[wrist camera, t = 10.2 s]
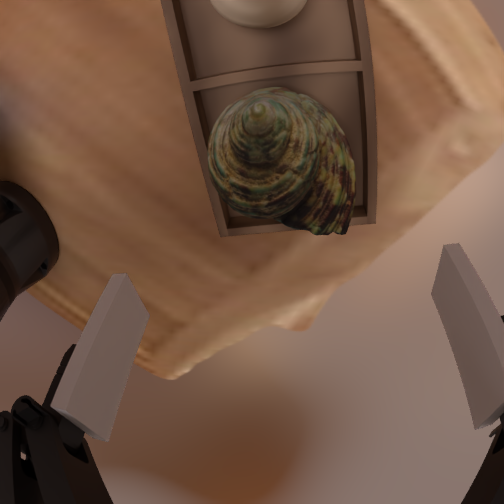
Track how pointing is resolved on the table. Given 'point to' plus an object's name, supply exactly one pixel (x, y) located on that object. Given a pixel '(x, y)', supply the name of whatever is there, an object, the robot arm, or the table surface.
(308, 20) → the holder
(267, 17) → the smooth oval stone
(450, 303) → the robot arm
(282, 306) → the table surface
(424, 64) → the table surface
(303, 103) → the seashell
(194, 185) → the table surface
